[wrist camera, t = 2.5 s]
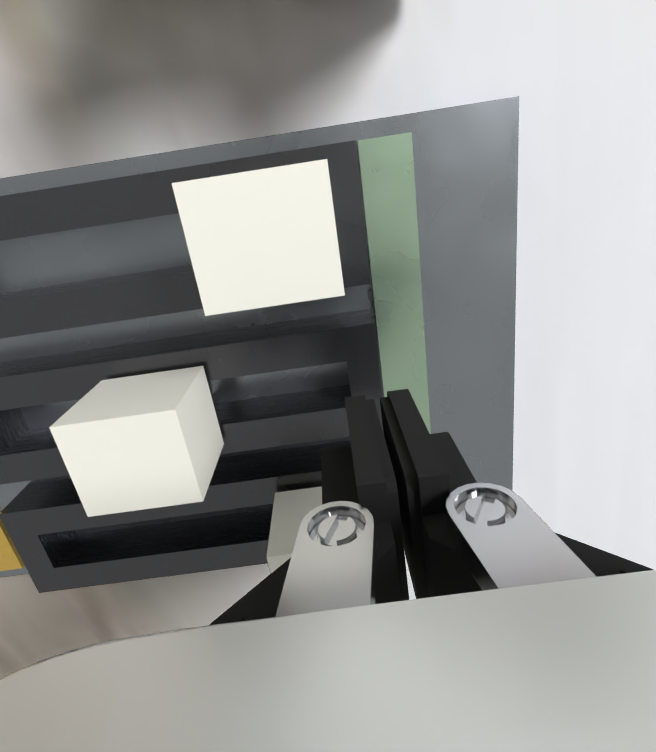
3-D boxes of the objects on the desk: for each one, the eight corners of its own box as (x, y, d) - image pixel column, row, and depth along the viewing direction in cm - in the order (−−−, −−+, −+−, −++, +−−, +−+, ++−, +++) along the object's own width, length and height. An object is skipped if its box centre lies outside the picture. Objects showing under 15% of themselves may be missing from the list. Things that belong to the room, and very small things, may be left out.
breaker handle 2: (278, 463, 17) (266, 557, 13) (361, 452, 17) (376, 542, 13) (291, 521, 19) (283, 625, 14) (369, 510, 18) (385, 612, 14)
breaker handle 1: (218, 185, 14) (171, 183, 9) (323, 168, 14) (327, 159, 9) (238, 277, 15) (205, 316, 10) (336, 263, 15) (344, 295, 10)
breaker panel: (-225, 218, 15) (-347, 225, 12) (503, 103, 14) (548, 82, 11) (-25, 561, 21) (-78, 619, 18) (501, 492, 20) (530, 541, 17)
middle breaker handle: (124, 359, 16) (49, 427, 11) (215, 346, 16) (175, 409, 11) (148, 430, 17) (88, 516, 12) (233, 418, 17) (203, 501, 12)
